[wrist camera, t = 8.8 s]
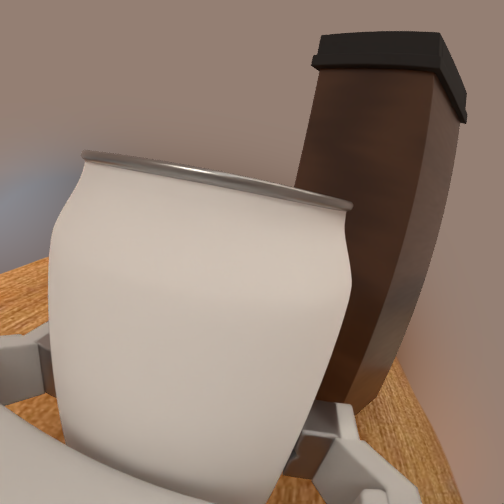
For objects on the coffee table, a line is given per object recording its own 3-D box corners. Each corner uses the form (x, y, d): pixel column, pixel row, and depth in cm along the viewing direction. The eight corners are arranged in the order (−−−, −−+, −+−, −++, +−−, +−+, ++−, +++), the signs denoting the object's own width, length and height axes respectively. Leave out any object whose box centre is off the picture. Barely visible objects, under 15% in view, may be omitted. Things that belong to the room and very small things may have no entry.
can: (166, 430, 14) (206, 168, 11) (279, 506, 10) (397, 214, 8) (54, 486, 8) (21, 143, 6) (175, 604, 5) (276, 182, 2)
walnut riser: (376, 396, 27) (460, 121, 21) (326, 438, 21) (434, 71, 15) (306, 355, 33) (371, 108, 27) (245, 378, 27) (319, 68, 21)
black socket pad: (466, 124, 21) (469, 94, 21) (439, 68, 14) (441, 30, 14) (369, 109, 28) (373, 83, 27) (310, 65, 21) (317, 34, 20)
